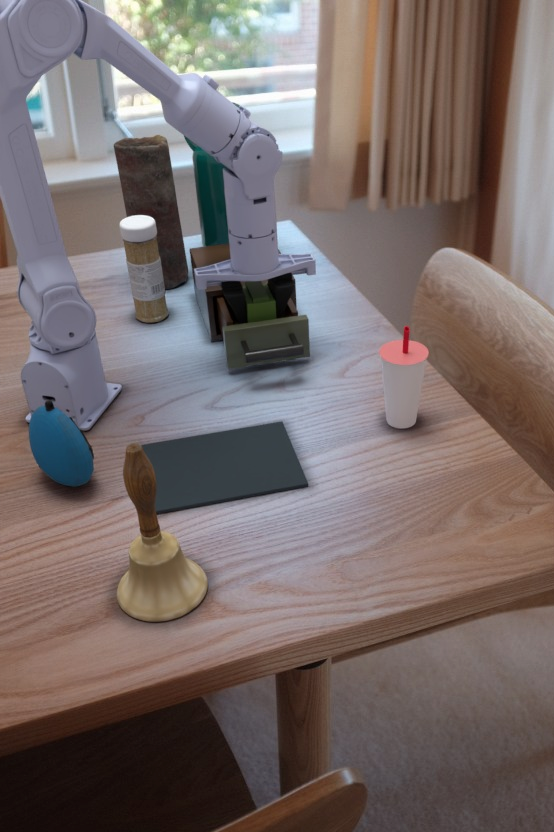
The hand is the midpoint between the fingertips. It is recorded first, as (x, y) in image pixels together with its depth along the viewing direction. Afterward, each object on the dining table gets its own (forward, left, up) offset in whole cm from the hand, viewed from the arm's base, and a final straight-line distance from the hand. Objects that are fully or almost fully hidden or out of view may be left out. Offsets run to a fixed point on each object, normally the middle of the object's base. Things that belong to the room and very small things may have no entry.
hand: (260, 332), depth 115 cm
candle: (+17, +20, -3) cm, 27 cm away
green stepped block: (0, 0, -1) cm, 1 cm away
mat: (-24, -4, -3) cm, 25 cm away
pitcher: (+27, +13, -3) cm, 30 cm away
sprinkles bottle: (+6, +17, -3) cm, 19 cm away
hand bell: (-43, -5, -3) cm, 44 cm away
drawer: (-1, 0, -2) cm, 2 cm away
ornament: (-30, +11, -3) cm, 33 cm away
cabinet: (+10, +5, -3) cm, 11 cm away
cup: (-11, -21, -3) cm, 24 cm away
